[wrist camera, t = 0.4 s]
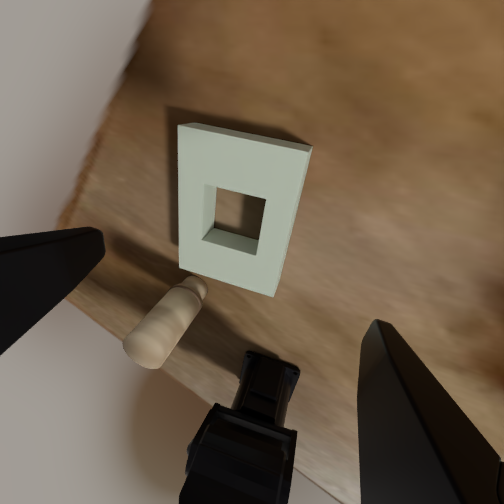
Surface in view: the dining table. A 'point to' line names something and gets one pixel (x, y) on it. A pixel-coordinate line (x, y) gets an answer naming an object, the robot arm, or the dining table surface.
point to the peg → (165, 323)
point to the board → (243, 181)
